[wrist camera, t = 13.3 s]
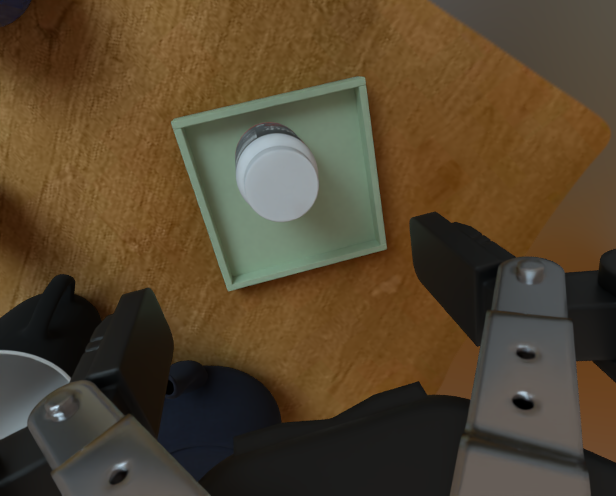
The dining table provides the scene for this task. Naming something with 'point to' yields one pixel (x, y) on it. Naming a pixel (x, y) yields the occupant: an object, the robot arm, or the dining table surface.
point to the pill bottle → (276, 172)
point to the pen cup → (12, 10)
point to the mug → (41, 348)
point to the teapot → (211, 413)
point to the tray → (331, 173)
